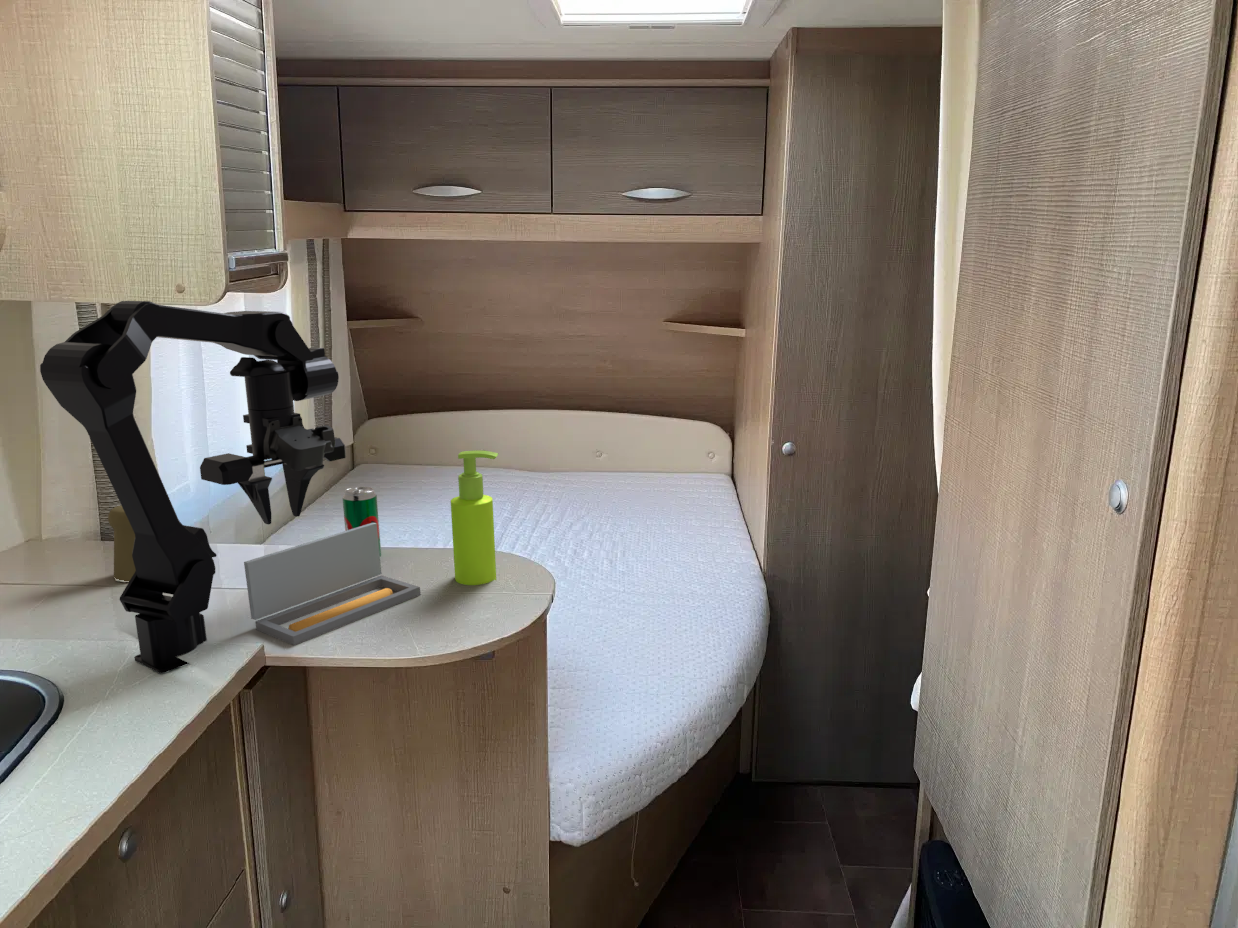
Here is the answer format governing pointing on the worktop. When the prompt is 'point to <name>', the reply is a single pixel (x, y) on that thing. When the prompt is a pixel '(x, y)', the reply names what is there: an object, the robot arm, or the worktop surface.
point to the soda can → (360, 508)
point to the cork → (122, 544)
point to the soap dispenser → (473, 525)
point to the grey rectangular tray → (272, 622)
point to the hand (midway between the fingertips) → (282, 519)
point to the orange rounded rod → (340, 610)
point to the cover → (312, 570)
